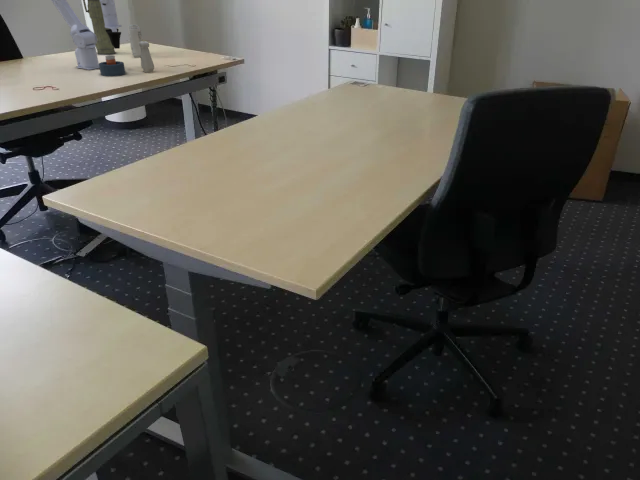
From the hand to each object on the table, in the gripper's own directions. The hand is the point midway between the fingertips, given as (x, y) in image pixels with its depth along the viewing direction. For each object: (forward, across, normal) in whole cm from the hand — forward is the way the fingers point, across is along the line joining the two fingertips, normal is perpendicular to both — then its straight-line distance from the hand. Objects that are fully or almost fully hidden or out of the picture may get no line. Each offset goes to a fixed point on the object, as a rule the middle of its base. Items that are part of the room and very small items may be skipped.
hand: (116, 47), depth 245 cm
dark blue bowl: (+10, -8, +4) cm, 14 cm away
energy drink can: (+10, +33, -13) cm, 37 cm away
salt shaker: (+10, -8, -11) cm, 17 cm away
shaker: (+9, -9, +4) cm, 13 cm away
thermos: (+10, +48, +1) cm, 49 cm away
